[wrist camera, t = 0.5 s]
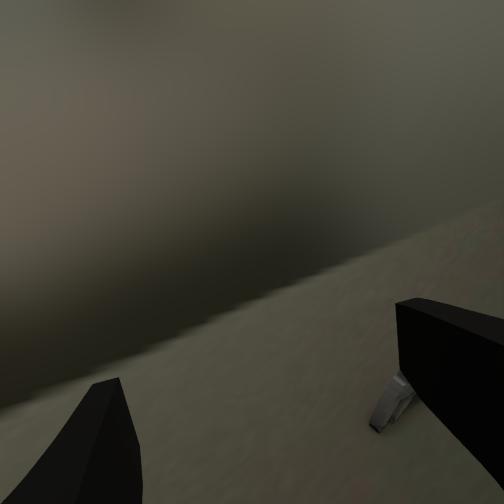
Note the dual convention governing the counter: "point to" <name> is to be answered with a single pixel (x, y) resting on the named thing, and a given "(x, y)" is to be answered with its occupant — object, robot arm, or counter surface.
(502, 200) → the counter surface
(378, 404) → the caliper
